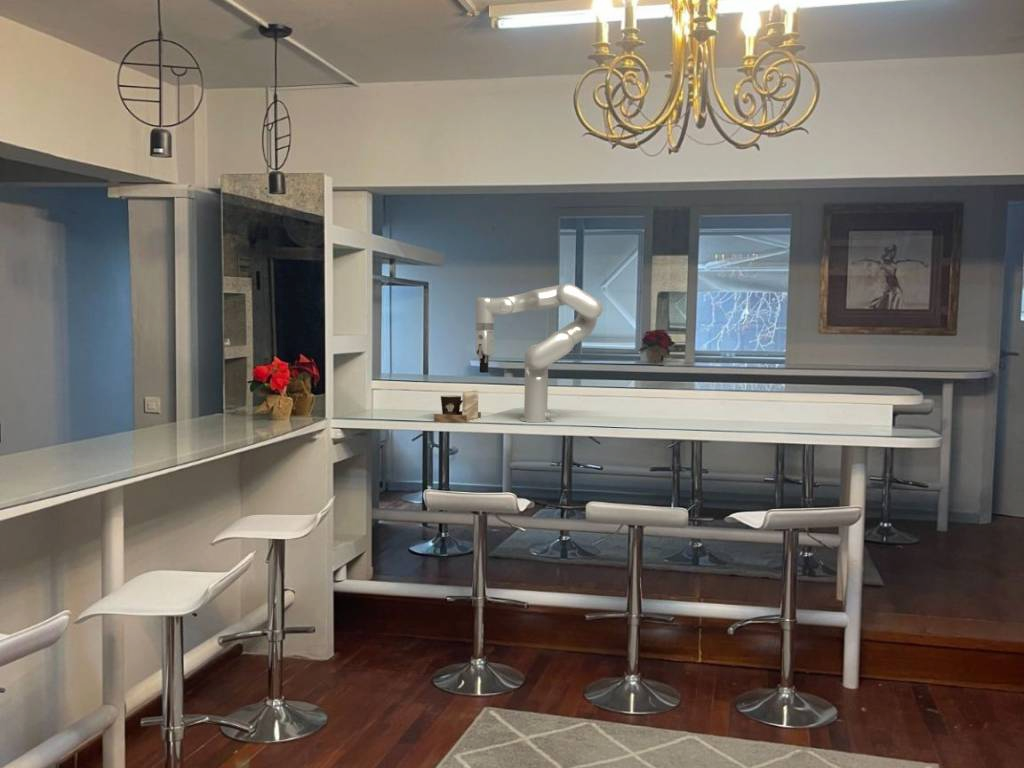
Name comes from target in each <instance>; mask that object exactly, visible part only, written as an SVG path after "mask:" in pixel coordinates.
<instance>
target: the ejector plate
mask: <svg viewBox="0 0 1024 768" xmlns="http://www.w3.org/2000/svg"><path fill="white" fill-rule="evenodd" d="M462 400H463V402H462V403H461V405H462V407H461V408H462V410H461V411H462V415H467V423H468V422H471V421H470V420H472V421H475V420H474V419H476V420H479V419H478V412H479V390H475V389H474V390H471V391H463V392H462Z"/></svg>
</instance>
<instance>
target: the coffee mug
mask: <svg viewBox="0 0 1024 768" xmlns="http://www.w3.org/2000/svg"><path fill="white" fill-rule="evenodd" d="M440 403H441V414H448V415H460V413H462V410H461V405H462V404H463V399H462V395H455V394H453V395H451V394H450V395H449V394H447V395H445V394H444V395H440ZM459 411H461V412H459Z"/></svg>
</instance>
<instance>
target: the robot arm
mask: <svg viewBox="0 0 1024 768" xmlns="http://www.w3.org/2000/svg"><path fill="white" fill-rule="evenodd" d="M561 306H562V307H563V306H568V307H569V308H571V309H573V310H574V311H576V312H578V313H577V317H576V318H575V319H574V320H573V321H571V323H569V324H567V325H566V326H564V327H562V328H561V329H559V330H557V331H554V332H553V333H551V334H550V336H549V337H548V338H546V339H544V340H543V341H541V342H540V343H538V344H532V345H530V346H529V347H528V348H527V349H526V351H525V353H524V358H523V359H524V362H523V363H524V408H523V410H524V413H523V414H524V415H523V416H524V417H520V420H521V422H523V421H526V422H525V423H549V422H551V421H552V419H551V418H554V419H556V418H558V413H556V412H550V410H548V397H549V395H548V394H549V393H548V392H549V391H548V390H549V389H548V388H549V387H548V385H549V369H548V366H550V365H552V364H553V363H555V362H557V361H558V360H560V359H562V358H563V357H565V356H566V355H568V354H569V353H570V352H571V351H572V350H573V348H574V346H575V345H577V344H578V343H580V342H581V341H583V340H584V339H586V338H587V337H589V336H590V335H591V334H592V333H593V331H594V329H595V327H596V325H597V320H598V318H599V317H600V316H601V315H602V312H603V306H602V303H601V301H599V300H598V299H597V298H595V297H594V296H592V295H590V294H589V293H587V292H585V291H584V290H582V289H581V288H580V287H578V286H576V285H574V284H573V283H563V284H562V283H561V284H558V285H552V286H548V287H542V288H537V289H533V290H530V291H527V292H524V293H520V294H515V295H509V296H503V297H488V296H487V297H486V296H483V297H481V296H480V297H478V298H477V297H476V302H475V332H476V335H475V337H476V338H475V354H476V355H477V356H478V357H477V358H478V359H479V373H482V374H483V373H484V374H485V373H487V374H488V373H489V363H490V362H489V361H490V360H489V359H490V357H491V356H494V354H495V338H494V337H495V335H494V332H495V315H499V316H501V317H502V316H503V317H505V316H509V315H513V314H520V313H524V312H537V311H542V310H547V309H551V308H552V309H553V308H556V307H561Z"/></svg>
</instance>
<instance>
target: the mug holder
mask: <svg viewBox="0 0 1024 768" xmlns="http://www.w3.org/2000/svg"><path fill="white" fill-rule="evenodd" d="M461 411H462V410H460V411H459V412H461ZM433 416H434V417H433V422H436V423H437V422H439V423H457V424H459V423H460V424H462V423H463V424H466V423H467V424H468V422H467V415H462V413H460V415H448V414H442V413H434V414H433ZM478 418H481V419H482V412H479V411H478Z"/></svg>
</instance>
